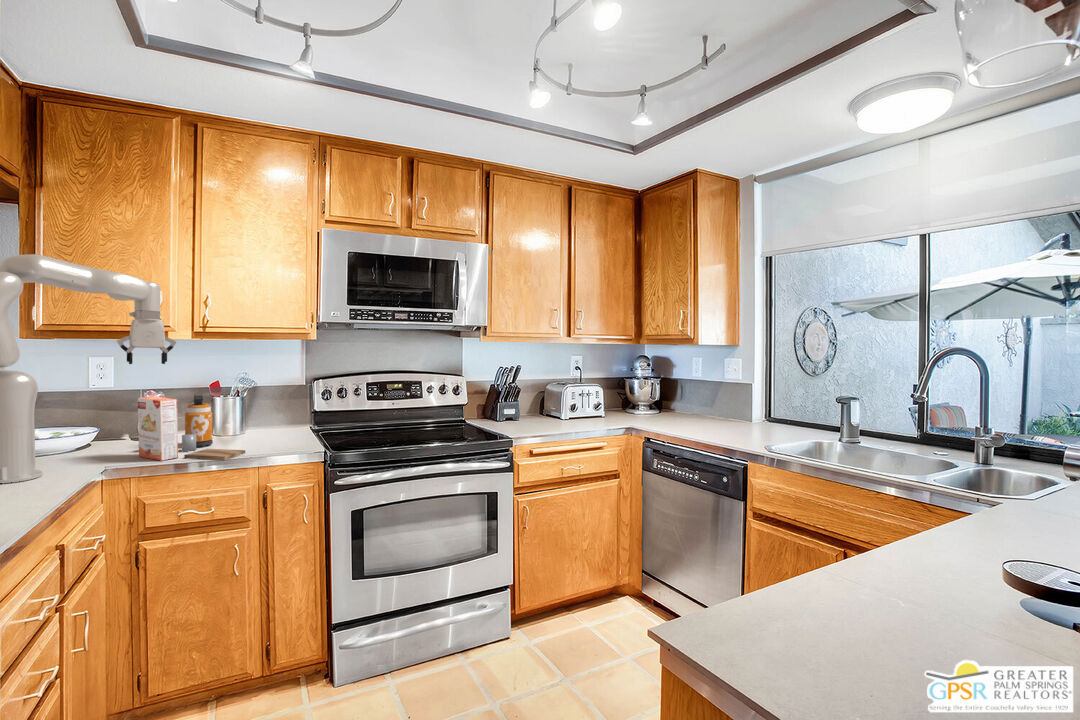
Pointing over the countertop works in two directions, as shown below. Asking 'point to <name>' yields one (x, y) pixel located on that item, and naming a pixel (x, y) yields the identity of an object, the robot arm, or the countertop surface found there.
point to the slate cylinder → (188, 442)
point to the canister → (199, 421)
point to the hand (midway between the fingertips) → (147, 363)
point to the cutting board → (215, 454)
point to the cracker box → (157, 428)
